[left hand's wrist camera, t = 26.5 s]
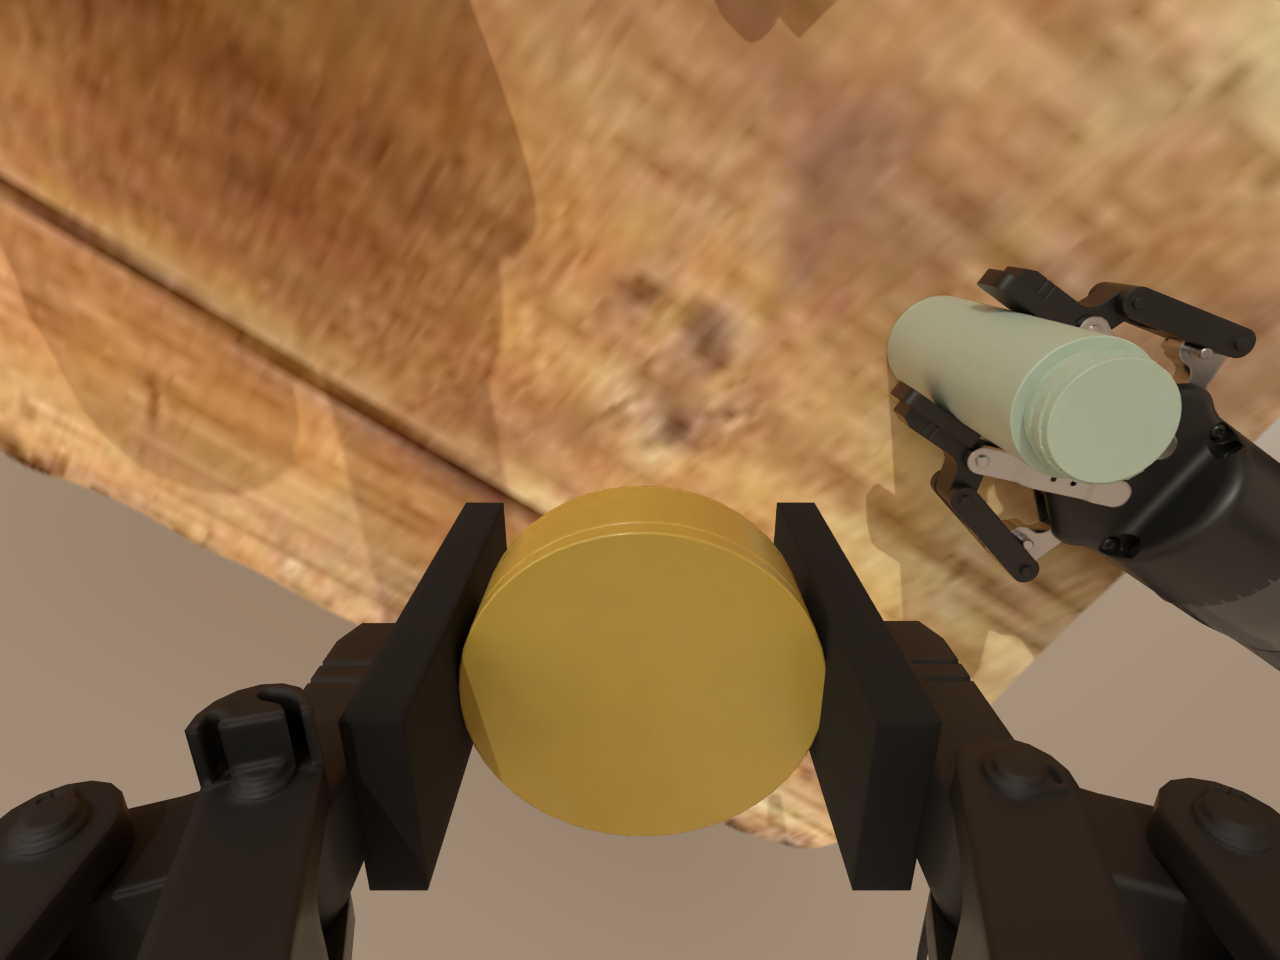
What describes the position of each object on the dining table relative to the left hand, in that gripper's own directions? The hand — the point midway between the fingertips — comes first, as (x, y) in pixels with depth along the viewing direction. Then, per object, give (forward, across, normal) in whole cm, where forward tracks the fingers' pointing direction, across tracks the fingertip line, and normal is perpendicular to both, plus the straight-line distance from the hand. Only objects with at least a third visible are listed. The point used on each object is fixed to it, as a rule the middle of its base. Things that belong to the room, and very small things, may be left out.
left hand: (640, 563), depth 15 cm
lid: (-4, 0, 0) cm, 4 cm away
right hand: (+17, +13, +2) cm, 21 cm away
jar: (+23, +15, 0) cm, 28 cm away
